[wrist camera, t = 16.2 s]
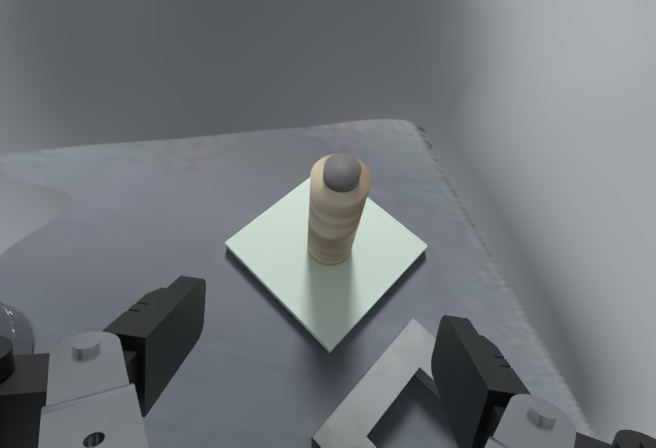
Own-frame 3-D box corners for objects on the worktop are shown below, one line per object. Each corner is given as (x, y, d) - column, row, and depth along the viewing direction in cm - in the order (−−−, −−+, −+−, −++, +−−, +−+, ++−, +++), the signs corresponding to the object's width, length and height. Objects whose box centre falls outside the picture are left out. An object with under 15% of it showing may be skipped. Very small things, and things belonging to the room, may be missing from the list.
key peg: (330, 274, 30) (344, 205, 21) (297, 244, 31) (297, 166, 22) (360, 245, 32) (387, 169, 22) (328, 217, 33) (340, 134, 24)
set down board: (329, 353, 28) (330, 350, 27) (226, 247, 32) (224, 242, 31) (424, 250, 33) (427, 245, 32) (326, 170, 37) (326, 164, 36)
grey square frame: (436, 580, 22) (451, 597, 20) (311, 436, 25) (312, 437, 23) (520, 431, 26) (540, 432, 24) (404, 326, 30) (413, 318, 27)
